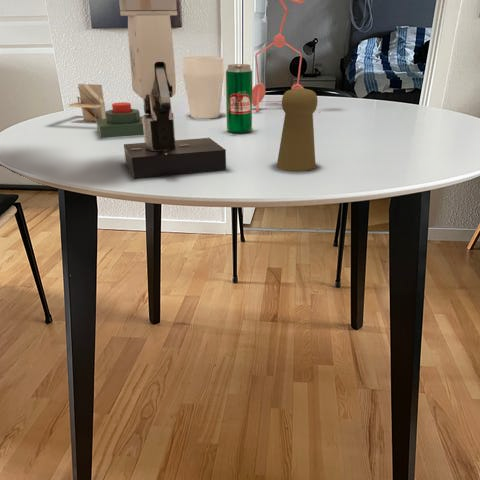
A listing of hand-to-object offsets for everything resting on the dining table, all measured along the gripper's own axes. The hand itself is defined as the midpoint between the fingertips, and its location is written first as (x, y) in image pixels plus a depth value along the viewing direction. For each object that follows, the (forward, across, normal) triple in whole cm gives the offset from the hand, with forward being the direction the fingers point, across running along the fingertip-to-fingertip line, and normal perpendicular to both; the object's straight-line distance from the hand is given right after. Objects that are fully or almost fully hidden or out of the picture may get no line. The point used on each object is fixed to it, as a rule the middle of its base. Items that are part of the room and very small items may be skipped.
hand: (160, 144), depth 75 cm
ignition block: (+4, -29, -2) cm, 29 cm away
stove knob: (+1, 0, 0) cm, 1 cm away
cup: (+4, -41, +18) cm, 45 cm away
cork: (+4, +6, +20) cm, 21 cm away
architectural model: (+4, -43, -7) cm, 44 cm away
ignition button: (0, -29, -2) cm, 29 cm away
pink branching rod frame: (+4, -46, +39) cm, 60 cm away
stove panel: (+4, 0, +2) cm, 4 cm away
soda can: (+4, -22, +20) cm, 30 cm away
